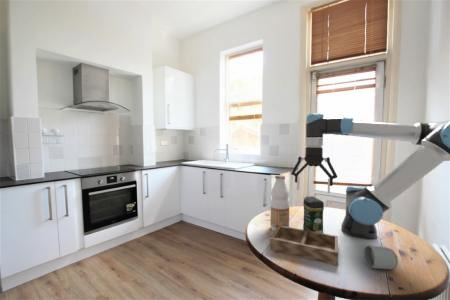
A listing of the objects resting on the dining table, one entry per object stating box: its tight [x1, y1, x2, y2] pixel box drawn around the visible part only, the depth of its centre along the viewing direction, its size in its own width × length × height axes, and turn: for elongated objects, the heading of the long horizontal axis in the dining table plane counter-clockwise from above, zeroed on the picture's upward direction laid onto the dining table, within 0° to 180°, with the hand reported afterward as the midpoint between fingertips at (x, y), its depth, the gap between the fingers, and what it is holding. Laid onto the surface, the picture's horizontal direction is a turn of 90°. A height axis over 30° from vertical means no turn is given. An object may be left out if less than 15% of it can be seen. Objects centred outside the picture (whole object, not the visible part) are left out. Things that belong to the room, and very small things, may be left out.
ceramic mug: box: [363, 244, 399, 270], centre depth 80 cm, size 11×8×8 cm
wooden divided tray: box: [269, 225, 339, 267], centre depth 92 cm, size 26×15×5 cm, turn 63°
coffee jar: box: [302, 195, 325, 233], centre depth 104 cm, size 10×8×19 cm
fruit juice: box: [270, 174, 290, 232], centre depth 112 cm, size 9×9×28 cm
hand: (313, 190), depth 104 cm, fingers open, 13 cm apart
